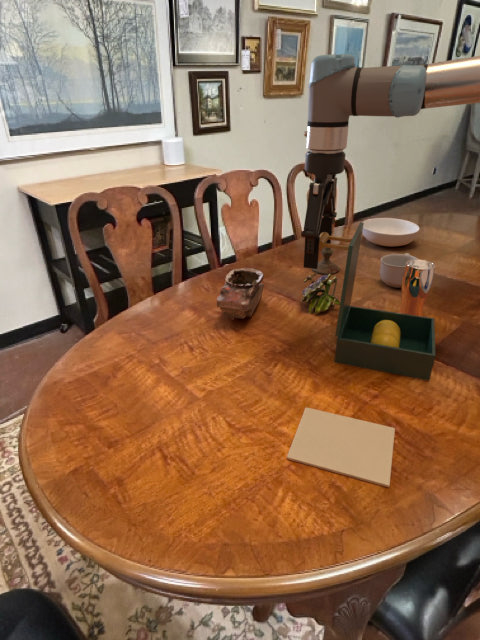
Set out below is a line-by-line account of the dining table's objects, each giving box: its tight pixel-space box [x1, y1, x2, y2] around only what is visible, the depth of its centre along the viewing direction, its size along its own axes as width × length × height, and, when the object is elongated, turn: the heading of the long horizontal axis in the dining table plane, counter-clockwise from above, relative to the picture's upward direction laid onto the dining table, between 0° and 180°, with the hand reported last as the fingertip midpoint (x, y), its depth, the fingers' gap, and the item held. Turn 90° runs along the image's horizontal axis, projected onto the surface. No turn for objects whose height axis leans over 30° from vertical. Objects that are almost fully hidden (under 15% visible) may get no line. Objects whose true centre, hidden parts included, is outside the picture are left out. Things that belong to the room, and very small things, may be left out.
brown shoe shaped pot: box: [216, 267, 265, 320], centre depth 111 cm, size 13×20×10 cm, turn 158°
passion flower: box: [300, 272, 340, 315], centre depth 113 cm, size 11×11×12 cm
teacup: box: [379, 252, 420, 289], centre depth 127 cm, size 14×11×8 cm
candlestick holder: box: [311, 176, 341, 276], centre depth 131 cm, size 9×9×30 cm
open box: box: [334, 305, 436, 381], centre depth 93 cm, size 19×16×7 cm
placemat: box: [286, 406, 396, 488], centre depth 71 cm, size 16×13×1 cm
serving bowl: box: [362, 217, 420, 248], centre depth 159 cm, size 21×21×7 cm
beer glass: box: [397, 259, 436, 317], centre depth 105 cm, size 7×7×15 cm
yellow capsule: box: [370, 320, 401, 348], centre depth 93 cm, size 12×6×6 cm, turn 159°
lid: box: [319, 221, 364, 338], centre depth 91 cm, size 20×16×8 cm
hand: (317, 256), depth 90 cm, fingers open, 13 cm apart
